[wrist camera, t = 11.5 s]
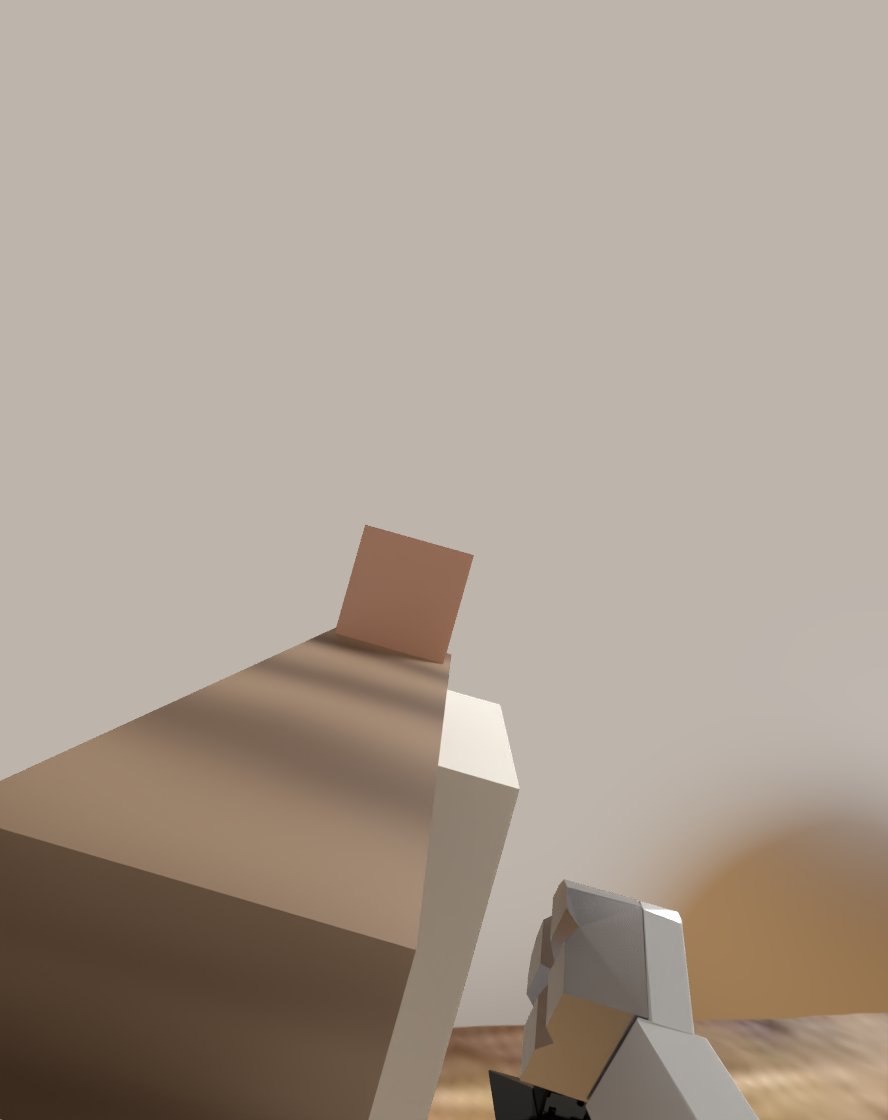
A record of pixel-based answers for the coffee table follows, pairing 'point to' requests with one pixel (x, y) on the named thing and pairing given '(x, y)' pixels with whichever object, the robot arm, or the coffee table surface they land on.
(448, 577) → the terracotta cube
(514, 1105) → the black angular part
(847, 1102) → the coffee table surface
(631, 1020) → the robot arm
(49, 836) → the walnut strip
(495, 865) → the pedestal
